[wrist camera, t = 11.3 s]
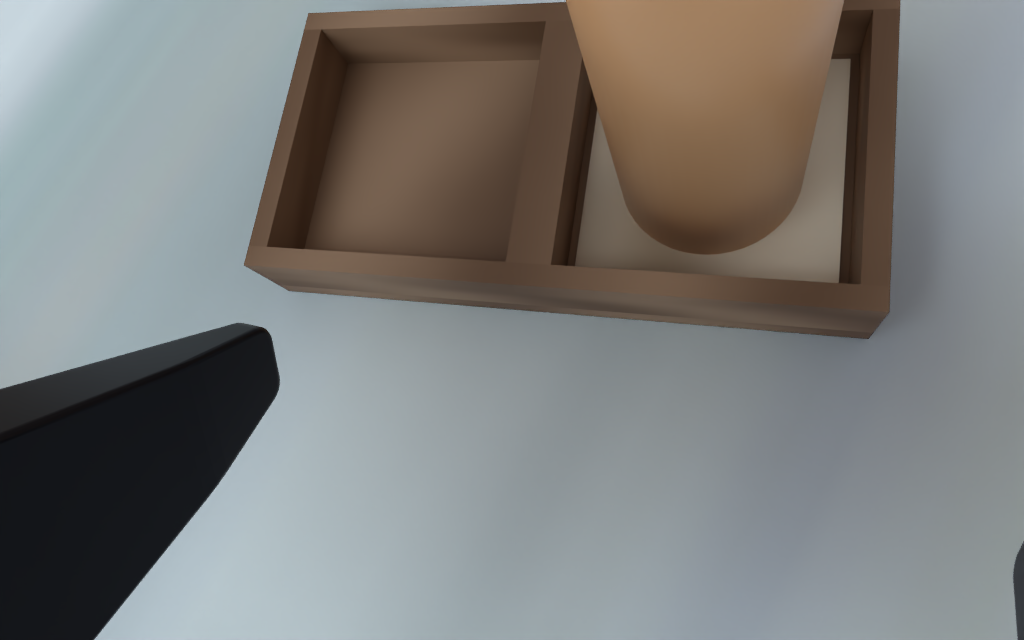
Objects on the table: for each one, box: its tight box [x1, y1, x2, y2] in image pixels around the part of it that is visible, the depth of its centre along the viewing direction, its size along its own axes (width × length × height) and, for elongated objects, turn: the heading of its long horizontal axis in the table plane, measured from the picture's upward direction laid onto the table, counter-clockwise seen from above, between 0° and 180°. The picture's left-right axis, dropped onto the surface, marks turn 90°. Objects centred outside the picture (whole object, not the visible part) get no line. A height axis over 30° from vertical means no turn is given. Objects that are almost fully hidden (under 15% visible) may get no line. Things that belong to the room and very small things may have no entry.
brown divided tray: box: [244, 0, 900, 339], centre depth 17 cm, size 14×7×2 cm, turn 81°
